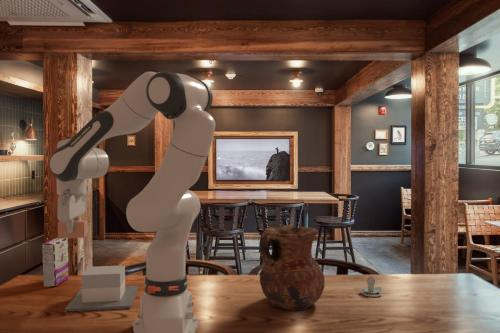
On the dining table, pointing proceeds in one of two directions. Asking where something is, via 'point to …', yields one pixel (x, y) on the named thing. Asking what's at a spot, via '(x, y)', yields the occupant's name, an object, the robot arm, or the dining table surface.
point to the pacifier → (371, 288)
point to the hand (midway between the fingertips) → (73, 231)
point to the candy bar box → (55, 261)
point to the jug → (290, 268)
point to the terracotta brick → (79, 230)
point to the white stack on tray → (103, 290)
